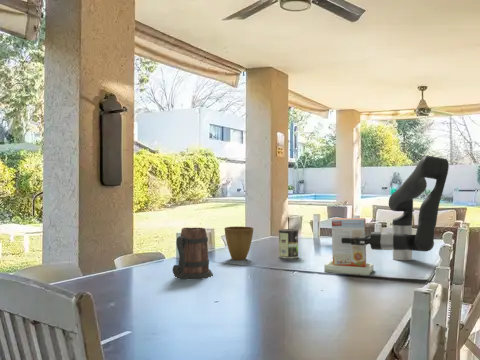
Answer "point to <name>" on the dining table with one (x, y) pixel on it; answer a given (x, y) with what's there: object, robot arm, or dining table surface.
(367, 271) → the tray
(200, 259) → the tankard
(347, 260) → the cracker box
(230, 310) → the dining table surface
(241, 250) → the plant pot
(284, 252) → the coffee can
